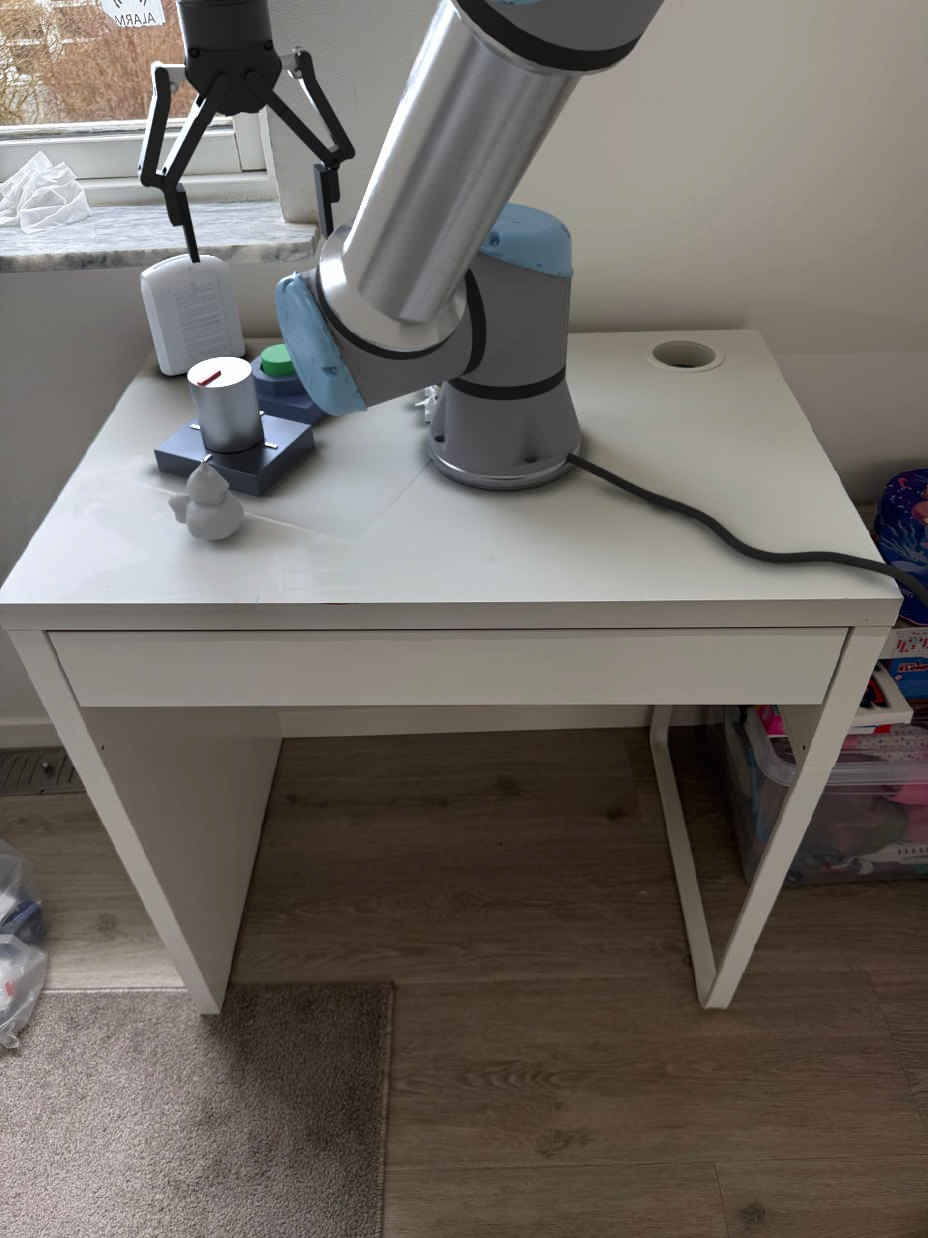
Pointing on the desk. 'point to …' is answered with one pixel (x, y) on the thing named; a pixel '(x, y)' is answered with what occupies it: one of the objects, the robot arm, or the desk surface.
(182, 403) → the desk surface
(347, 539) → the desk surface
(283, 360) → the button
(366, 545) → the desk surface
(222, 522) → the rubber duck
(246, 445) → the dial
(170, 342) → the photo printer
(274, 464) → the dial panel
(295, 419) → the block
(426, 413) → the figurines set
